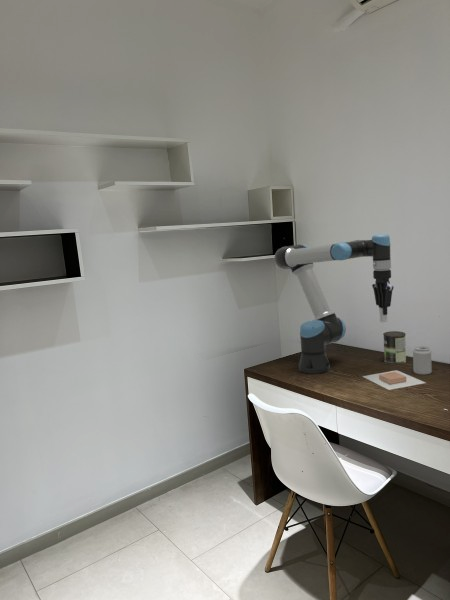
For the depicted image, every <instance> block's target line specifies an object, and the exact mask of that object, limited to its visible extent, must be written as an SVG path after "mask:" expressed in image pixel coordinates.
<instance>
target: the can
mask: <svg viewBox="0 0 450 600" xmlns="http://www.w3.org/2000/svg"><path fill="white" fill-rule="evenodd" d="M412 363H413V365H412V366H413V367H412V368H413V373H414V374H417V375H430V374H432V371H433V369H432V351H431V349H430V347H429V346H424V345H418V346H415V347H414V349H413V351H412Z"/></svg>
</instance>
